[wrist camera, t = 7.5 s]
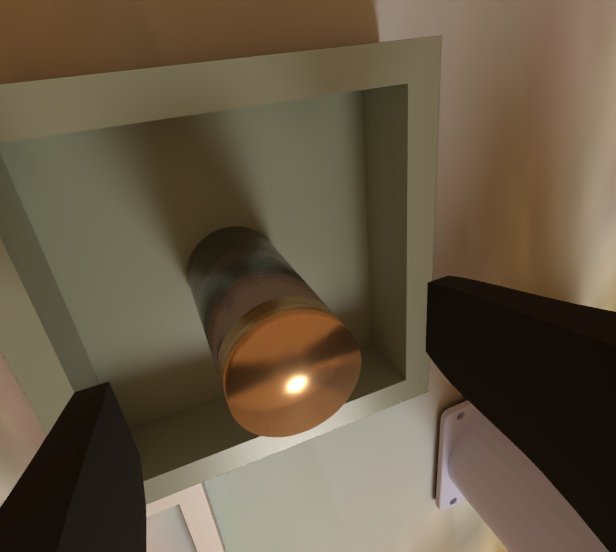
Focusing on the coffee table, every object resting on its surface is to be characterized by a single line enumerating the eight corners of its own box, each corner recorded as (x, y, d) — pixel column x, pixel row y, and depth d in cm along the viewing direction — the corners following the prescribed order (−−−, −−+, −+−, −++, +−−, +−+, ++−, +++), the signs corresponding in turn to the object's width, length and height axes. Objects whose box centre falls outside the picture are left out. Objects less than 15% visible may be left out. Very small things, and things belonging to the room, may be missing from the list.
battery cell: (274, 220, 14) (363, 304, 9) (279, 300, 15) (359, 414, 10) (179, 233, 13) (218, 337, 8) (194, 318, 14) (235, 454, 9)
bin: (380, 43, 13) (441, 35, 11) (386, 349, 19) (427, 391, 16) (-71, 93, 10) (-138, 99, 7) (100, 451, 15) (96, 524, 13)
